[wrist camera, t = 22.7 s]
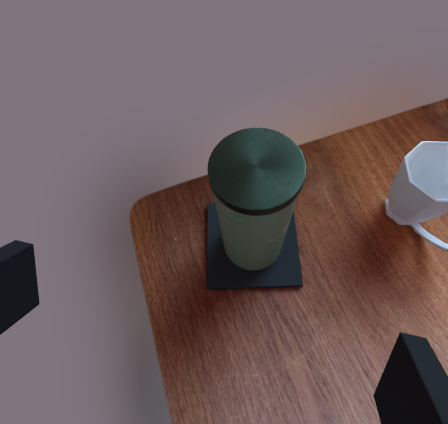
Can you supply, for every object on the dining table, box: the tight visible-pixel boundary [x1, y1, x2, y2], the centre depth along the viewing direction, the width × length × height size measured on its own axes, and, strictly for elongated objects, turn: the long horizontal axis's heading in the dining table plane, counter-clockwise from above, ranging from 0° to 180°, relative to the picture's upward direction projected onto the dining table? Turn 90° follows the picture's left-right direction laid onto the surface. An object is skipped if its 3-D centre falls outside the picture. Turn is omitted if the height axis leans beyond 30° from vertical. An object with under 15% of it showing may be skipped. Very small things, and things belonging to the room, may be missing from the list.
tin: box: [208, 128, 306, 270], centre depth 27 cm, size 7×7×15 cm
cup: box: [384, 141, 448, 252], centre depth 31 cm, size 7×10×8 cm
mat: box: [207, 204, 303, 289], centre depth 34 cm, size 10×10×1 cm
